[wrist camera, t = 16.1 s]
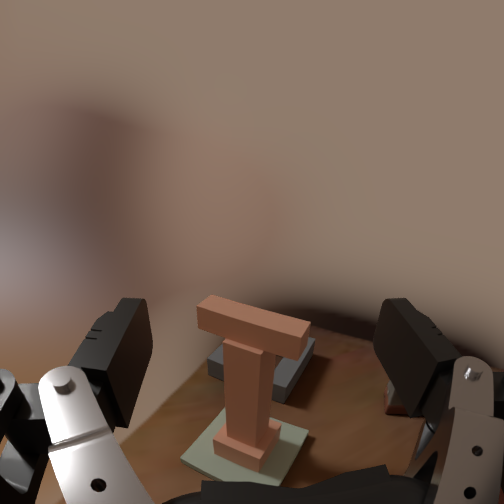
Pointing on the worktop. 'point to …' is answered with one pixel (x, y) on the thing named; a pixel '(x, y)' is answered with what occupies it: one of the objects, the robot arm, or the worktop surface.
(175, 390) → the worktop surface
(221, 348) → the socket block
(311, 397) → the worktop surface
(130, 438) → the worktop surface
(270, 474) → the mat
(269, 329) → the t key
